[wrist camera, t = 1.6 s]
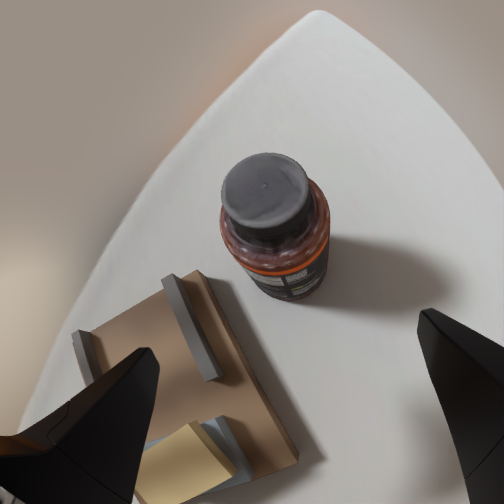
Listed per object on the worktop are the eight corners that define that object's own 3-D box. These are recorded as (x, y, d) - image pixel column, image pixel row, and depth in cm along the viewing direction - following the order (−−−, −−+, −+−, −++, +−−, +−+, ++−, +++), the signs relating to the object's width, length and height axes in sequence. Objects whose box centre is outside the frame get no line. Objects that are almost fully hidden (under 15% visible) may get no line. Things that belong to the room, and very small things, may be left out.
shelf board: (299, 454, 18) (294, 478, 13) (152, 498, 18) (122, 517, 13) (206, 276, 24) (180, 256, 20) (86, 345, 24) (49, 337, 20)
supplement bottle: (283, 217, 25) (258, 119, 14) (342, 257, 22) (359, 171, 12) (236, 271, 24) (175, 200, 13) (294, 318, 22) (273, 278, 11)
